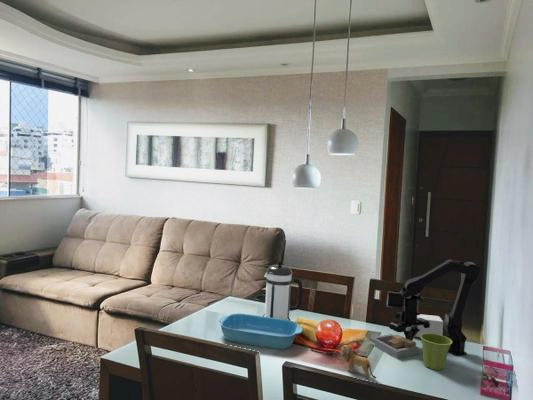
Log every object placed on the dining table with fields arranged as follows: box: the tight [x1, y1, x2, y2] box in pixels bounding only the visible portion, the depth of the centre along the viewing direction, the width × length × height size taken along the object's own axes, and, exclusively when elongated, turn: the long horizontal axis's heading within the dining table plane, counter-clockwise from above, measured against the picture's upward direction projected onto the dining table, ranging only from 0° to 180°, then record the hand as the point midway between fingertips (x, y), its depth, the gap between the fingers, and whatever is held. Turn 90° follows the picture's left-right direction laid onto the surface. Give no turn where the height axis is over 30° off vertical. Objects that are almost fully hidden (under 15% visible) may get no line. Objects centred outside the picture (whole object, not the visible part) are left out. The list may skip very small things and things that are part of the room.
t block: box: [387, 334, 417, 349], centre depth 186 cm, size 10×10×4 cm
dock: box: [368, 333, 419, 360], centre depth 186 cm, size 17×12×3 cm
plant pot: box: [419, 333, 452, 371], centre depth 171 cm, size 12×12×11 cm
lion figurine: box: [339, 344, 377, 380], centre depth 161 cm, size 15×5×9 cm, turn 52°
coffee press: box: [262, 260, 303, 321], centre depth 214 cm, size 17×16×30 cm
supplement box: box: [414, 313, 444, 338], centre depth 205 cm, size 9×9×15 cm
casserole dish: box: [218, 313, 304, 350], centre depth 189 cm, size 37×22×7 cm, turn 77°
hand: (408, 344), depth 190 cm, fingers closed
